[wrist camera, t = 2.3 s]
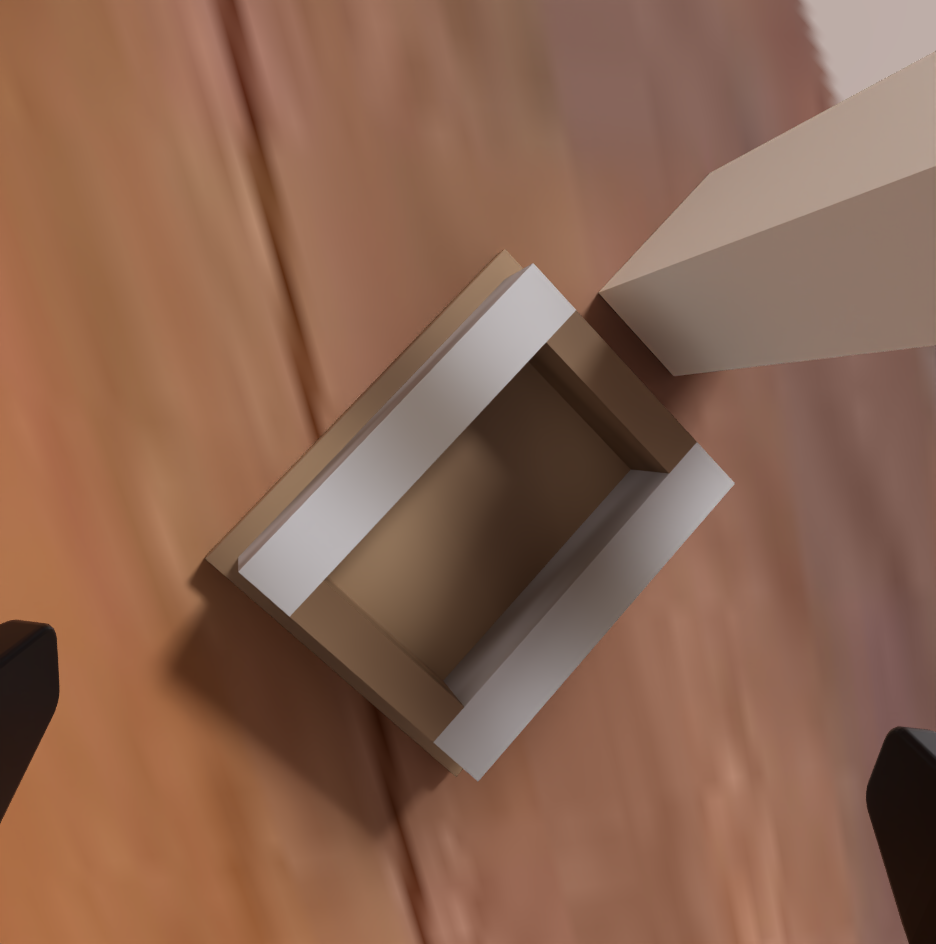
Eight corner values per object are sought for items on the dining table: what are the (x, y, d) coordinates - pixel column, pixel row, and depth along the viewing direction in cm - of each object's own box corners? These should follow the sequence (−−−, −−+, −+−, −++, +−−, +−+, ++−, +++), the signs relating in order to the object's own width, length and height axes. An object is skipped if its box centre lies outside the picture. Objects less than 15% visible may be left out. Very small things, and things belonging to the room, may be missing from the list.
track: (449, 767, 21) (478, 813, 19) (205, 555, 20) (201, 573, 17) (703, 476, 23) (761, 482, 20) (497, 253, 21) (532, 230, 18)
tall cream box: (673, 376, 22) (1138, 321, 11) (598, 292, 22) (1007, 138, 10) (779, 257, 23) (1326, 86, 11) (709, 173, 22) (1215, -101, 11)
